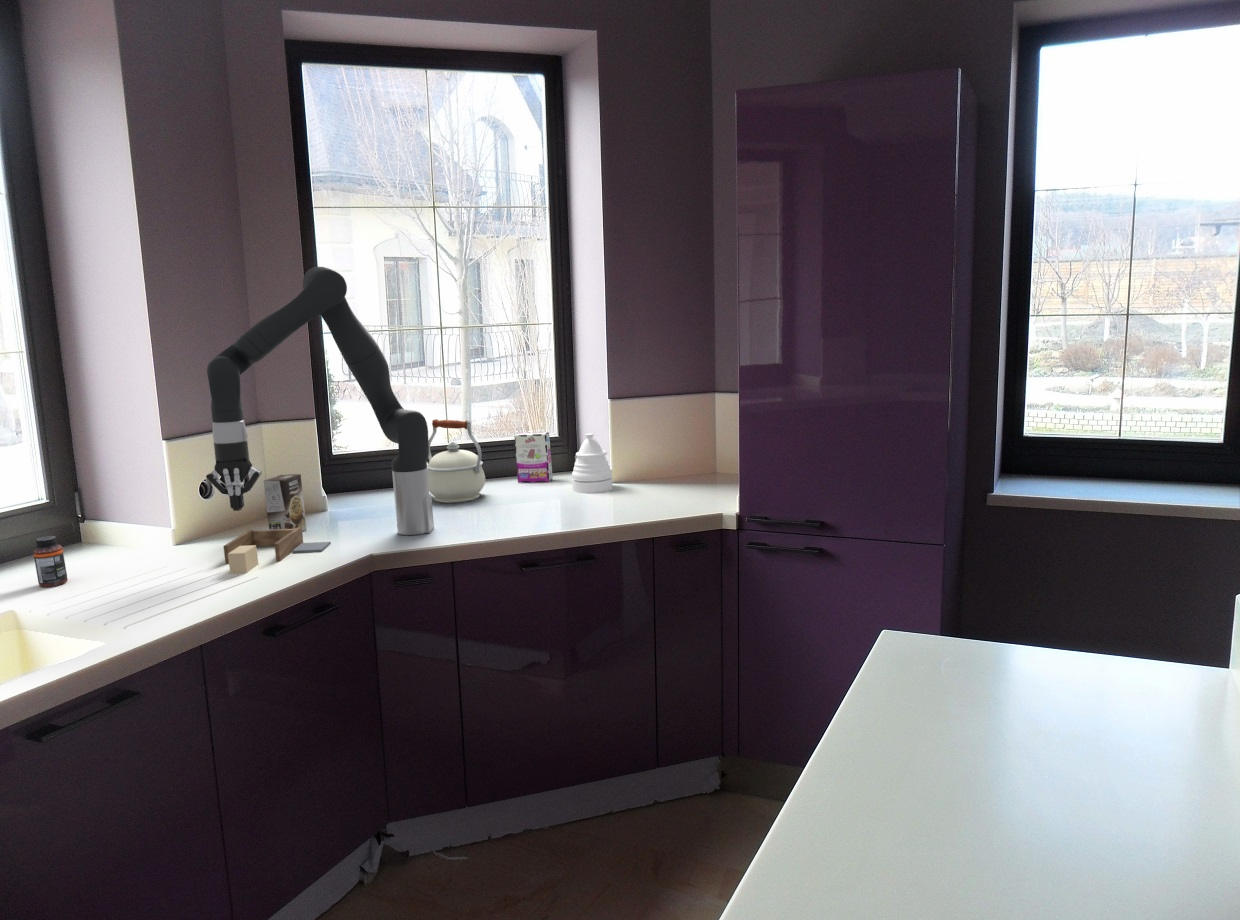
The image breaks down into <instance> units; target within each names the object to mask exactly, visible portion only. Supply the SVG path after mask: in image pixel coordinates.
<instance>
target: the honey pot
mask: <svg viewBox="0 0 1240 920" xmlns="http://www.w3.org/2000/svg"><path fill="white" fill-rule="evenodd" d="M585 438H586V439H584V440H583V442H582V443H581V445H580V448H579V451H577V452H576V453H575V456H576V460H575V462H574V467H573V471H572V472H571V481H572V491H573V492H576V493H580V494H581V493H582V494H596V493H605V492H608V491H611V490H613V487H614V484H613V472H612V470H611V469H610V468H611V467H610V466H611V465H609V461H608V459H607V458H606V455H607V454H608V452H607V451H606V450H604V449H603V448H602V447H601V445H600V443H599V442H598V441H597V440H596V438H594V433H585Z"/></svg>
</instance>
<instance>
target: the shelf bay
mask: <svg viewBox="0 0 1240 920" xmlns="http://www.w3.org/2000/svg"><path fill="white" fill-rule="evenodd" d="M301 543H304V537H303V532H302V528H295V529H279V530H269V529H262V530H261V529H259V530H253V529H248V530H247V531H245V532H243V533H241V534H240V535H239V536H237V537H236V538H234V539H232V540H231V541H229V542H227V543H226V544H225V545H223V553H224V559H225V560H224V562H225V564H226V565H229V559H228V553H230V552H231V551H233V550H234V549H236V548H237V547H239V546H249V545H256V547H270V546H271V547H273V546H274V552H275V553H274V554H275V561H276V562H281V561H283V560H284V559H285V558H286V557H287V556H288V555H290V554H292V550H294V549H295V548H296V547H298V546H299V545H300V544H301Z"/></svg>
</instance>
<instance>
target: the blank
mask: <svg viewBox="0 0 1240 920" xmlns="http://www.w3.org/2000/svg"><path fill="white" fill-rule="evenodd" d="M257 549H258V548H257V546H256V545H249V546H239V547H237V548H236V549H234V550H233V551H231V552H230V553H228V559H229V564H228V566H229V574H231V575H232V574H233V575H234V574H248V573H249V572H251V571H252V570H253V569H255V567H257V566H259V558H258V550H257Z"/></svg>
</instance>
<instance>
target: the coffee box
mask: <svg viewBox="0 0 1240 920" xmlns="http://www.w3.org/2000/svg"><path fill="white" fill-rule="evenodd" d="M302 483H303V482H302V475H301V474H300V473H295V474H293V473H292V474H291V473H290V474H279V475H277V476H273V477H270V478H268V479H265V480H263V486H264V496H265V505H266V506H265V507H266V515H267V526H268V530H279V529H295V528H302V533H303V532H305V531H307V528H308V527H307V521H306V512H305V502H304V493H303V484H302Z"/></svg>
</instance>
